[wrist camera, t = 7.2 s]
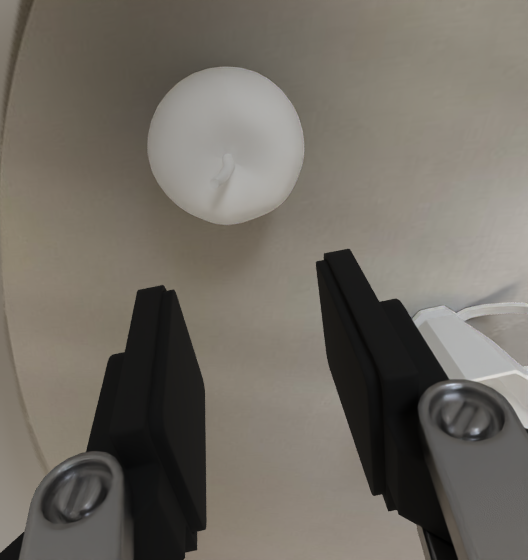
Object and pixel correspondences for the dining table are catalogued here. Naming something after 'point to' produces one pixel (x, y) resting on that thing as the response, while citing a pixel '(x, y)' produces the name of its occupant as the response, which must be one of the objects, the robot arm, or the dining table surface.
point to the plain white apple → (226, 145)
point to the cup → (476, 351)
